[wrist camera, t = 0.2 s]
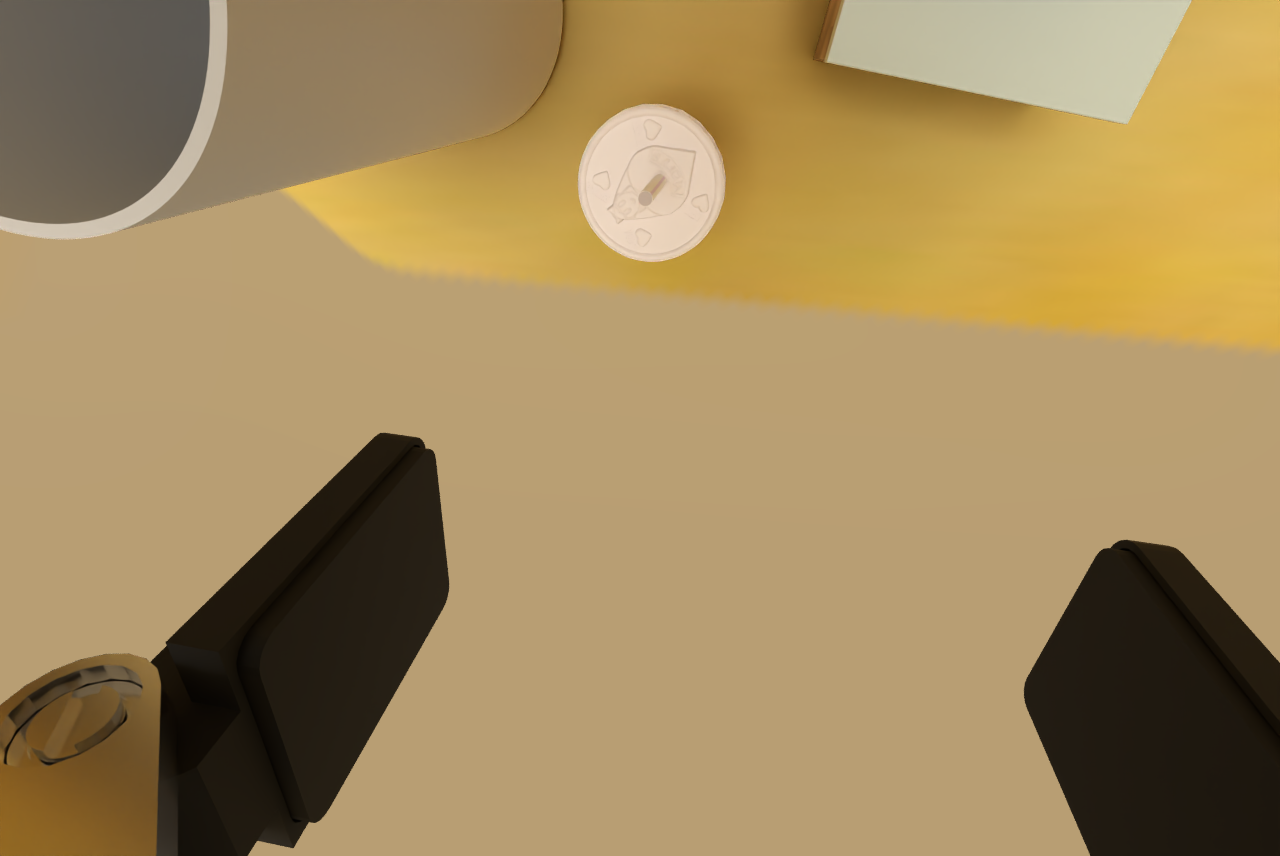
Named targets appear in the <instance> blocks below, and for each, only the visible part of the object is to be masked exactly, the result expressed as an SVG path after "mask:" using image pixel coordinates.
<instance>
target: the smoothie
mask: <svg viewBox="0 0 1280 856" xmlns="http://www.w3.org/2000/svg"><path fill="white" fill-rule="evenodd" d="M725 183H726V175H725V170H724V164H723V159H722V155H721V153H720V151H719V149H718V147H717V145H716V143H715V140H714V138H713V137H712V136H711V135H710V133H709V132H708V131H707V130H706V129H705V127H704V126H703V125H702V124H701V123H700V122H699V121H698V120H696V119H695V118H693V117H692V116H690V115H689V114H688V113H686V112H685V111H683V110H680V109H677V108H674V107H671V106H668V105H665V104H641V105H637V106H634V107H630V108H627V109H624V110H622V111H621V112H619V113H618V114H616V115H614V116H613V117H611V118H610V119H608V120H607V121H606V122H605V123H604V124H603V125H602V126H601V127H600V128H599V129H598V130H597V131H596V132H595V134H594V135H593V136H592V138H591V139H590V141H589V143H588V145H587V146H586V148H585V151H584V153H583V156H582V159H581V163H580V167H579V174H578V192H579V199H580V203H581V207H582V210H583V213H584V215H585V217H586V219H587V221H588V223H589V225H590V227H591V228H592V230H593V231H594V232H595V234H596V235H597V236H598V237H599V238H600V239H601V240H602V241H603V242H604V243H605V244H606V245H607V246H608V247H610V248H611V249H613V250H614V251H616V252H617V253H619V254H621V255H623V256H626V257H628V258H631V259H635V260H639V261H646V262H657V261H665V260H669V259H673V258H675V257H678V256H680V255H682V254H684V253H686V252H688V251H689V250H691V249H692V248H694V247H695V246H696V245H697V244H699V243H700V242H701V241H702V240H703V239H704V237H705V236H706V235H707V234H708V232H709V231H710V230H711V228H712V226H713V225H714V223H715V221H716V220H717V218H718V216H719V213H720V210H721V207H722V204H723V201H724V198H725Z"/></svg>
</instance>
